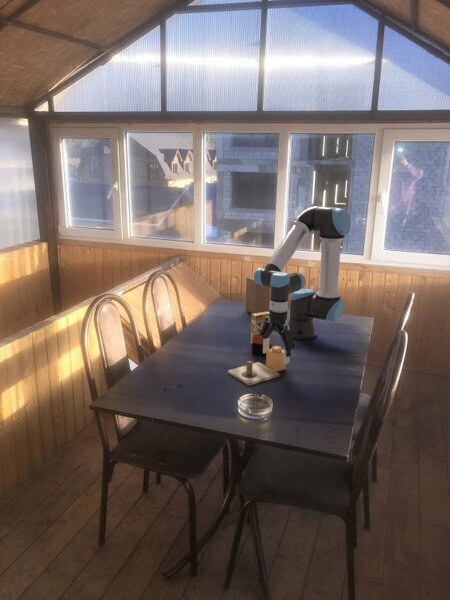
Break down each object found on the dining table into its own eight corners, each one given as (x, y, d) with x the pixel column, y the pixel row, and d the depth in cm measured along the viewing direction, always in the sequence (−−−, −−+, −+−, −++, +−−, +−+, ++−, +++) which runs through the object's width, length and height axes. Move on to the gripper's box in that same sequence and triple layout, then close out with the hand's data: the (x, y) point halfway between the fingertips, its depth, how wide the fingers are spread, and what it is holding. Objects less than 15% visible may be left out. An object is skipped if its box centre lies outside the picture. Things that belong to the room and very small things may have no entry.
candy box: (254, 346, 236) (255, 315, 231) (250, 343, 239) (251, 313, 235) (270, 343, 239) (271, 313, 235) (266, 340, 243) (267, 310, 239)
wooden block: (269, 312, 285) (270, 278, 279) (254, 315, 280) (255, 281, 274) (259, 308, 293) (260, 275, 287) (245, 310, 288) (246, 277, 283)
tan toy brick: (276, 364, 216) (277, 344, 214) (285, 368, 212) (286, 348, 209) (266, 367, 213) (266, 347, 210) (274, 372, 208) (275, 351, 206)
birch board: (258, 364, 216) (258, 350, 214) (279, 376, 205) (279, 361, 203) (228, 373, 207) (228, 358, 205) (248, 385, 196) (248, 370, 194)
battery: (265, 356, 224) (266, 336, 221) (251, 354, 227) (252, 333, 224) (268, 353, 228) (269, 333, 225) (255, 350, 230) (255, 330, 228)
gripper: (252, 303, 213) (251, 350, 219) (291, 319, 193) (288, 370, 199) (266, 301, 217) (264, 346, 223) (306, 316, 197) (302, 366, 203)
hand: (275, 357), depth 211 cm, fingers open, 13 cm apart
